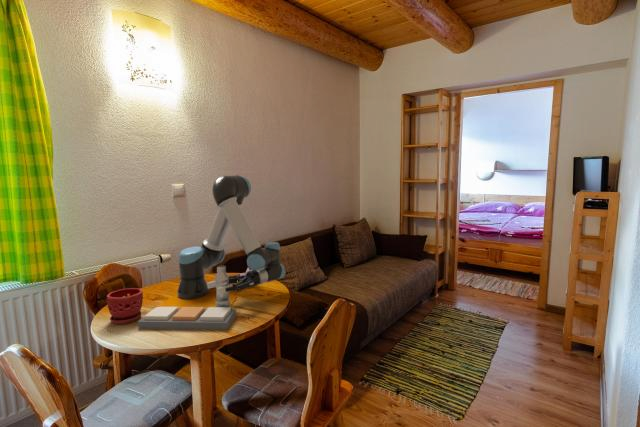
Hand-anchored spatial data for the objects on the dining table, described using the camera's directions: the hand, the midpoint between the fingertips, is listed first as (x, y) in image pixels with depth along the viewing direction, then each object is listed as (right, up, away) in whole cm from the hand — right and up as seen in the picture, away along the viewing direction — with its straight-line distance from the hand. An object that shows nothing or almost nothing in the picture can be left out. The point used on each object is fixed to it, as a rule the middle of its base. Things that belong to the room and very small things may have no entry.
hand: (212, 288), depth 147 cm
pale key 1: (-19, -10, -8) cm, 23 cm away
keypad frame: (-7, -12, -8) cm, 16 cm away
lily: (+8, -7, +35) cm, 37 cm away
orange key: (-7, -10, -8) cm, 15 cm away
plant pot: (-35, -12, -5) cm, 37 cm away
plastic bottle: (+3, -11, +4) cm, 12 cm away
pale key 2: (+4, -10, -9) cm, 14 cm away
